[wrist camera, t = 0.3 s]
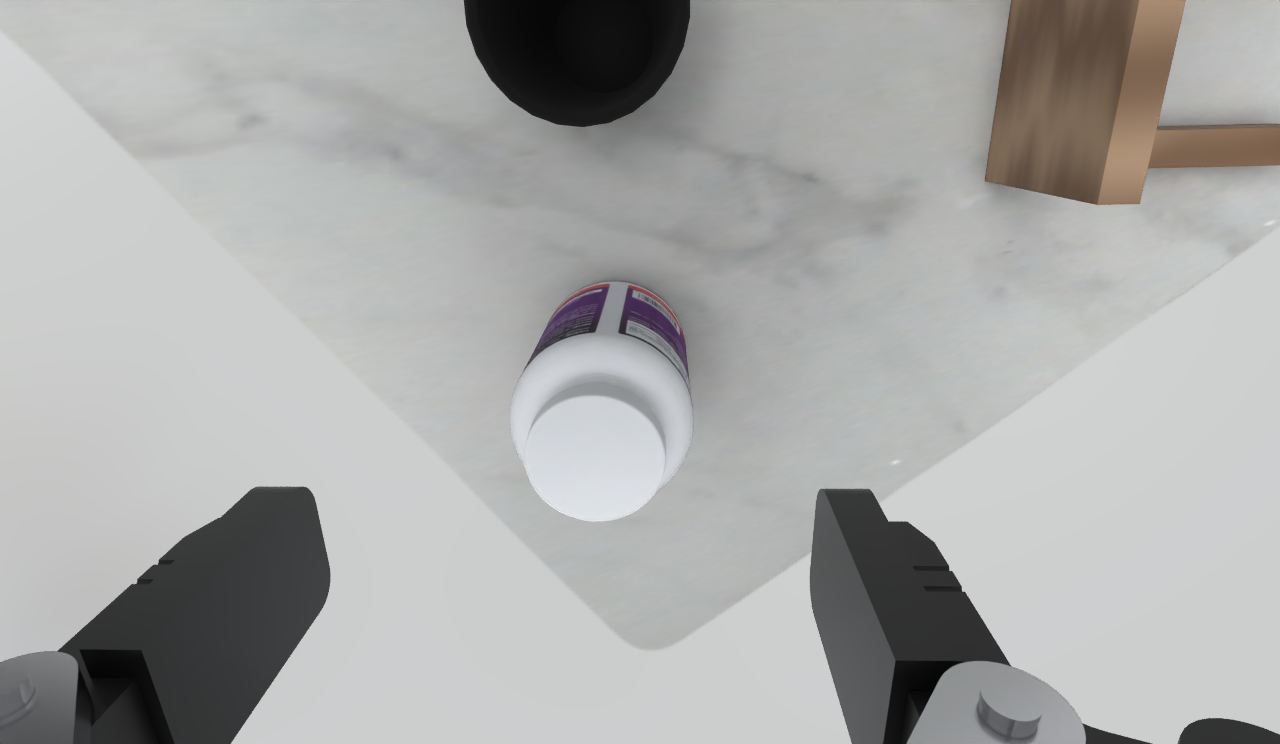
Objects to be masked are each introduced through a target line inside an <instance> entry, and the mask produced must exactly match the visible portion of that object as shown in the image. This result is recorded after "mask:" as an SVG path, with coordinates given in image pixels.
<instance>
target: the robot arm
mask: <svg viewBox="0 0 1280 744" xmlns="http://www.w3.org/2000/svg"><path fill="white" fill-rule="evenodd" d="M329 587H330V567H329V562H328V557H327V552H326V548H325V544H324V538H323V534H322V530H321V525H320V520H319V516H318V511H317V506H316V502H315V498H314V496H313V494H312V492H311V491H310V490H309V489H308V488H306V487H255V488H253V489H251V490H250V491H249V492H248V493H247V494H246V495H245V496H243V498H241V499H240V500H239V501H238V502H237V503H236V504H235V505H234V506H233V507H232V508H231V509H229V510H228V511H227V512H226V513H225V514H224V515H223V516H222V517H221V518H218V519H216V520H214V521H212V522H210V523H209V524H207V525H205V526H203V527H202V528H200V529H198V530H196V531H194V532H193V533H191V534H189V535H187V536H186V537H184V538H183V539H182V540H181V541H179V542H178V543H177V544H176V545H175V546H174V547H173V548H172V549H170V550H169V551H168V552H167V553H166V554H165V555H164V556H163V557H162V558H160V559H159V563H158V565H153V566H152V567H150V568H149V569H148V570H147V571H146V572H145V573H144V574H143V575H142V576H140V577H139V578H138V580H137V584H132V585H130V586H129V587H128V588H127V589H126V590H125V591H124V592H123V593H121V594H120V595H119V596H118V597H117V598H116V599H115V600H114V601H113V602H111V604H109V605H108V606H107V607H106V608H105V609H104V610H103V611H101V612H100V613H99V614H98V615H97V616H96V617H95V618H94V619H93V620H91V621H90V622H89V623H88V624H87V625H86V626H85V627H84V628H83V629H81V630H80V631H79V632H78V633H77V634H76V635H75V636H74V637H73V638H71V639H70V640H69V641H68V642H67V643H66V644H65V645H64V646H63V647H62V648H60V649H59V650H58V651H57V652H56V651H44V652H37V653H31V654H27V655H22V656H18V657H15V658H11V659H8V660H5V661H3V662H0V744H231V742H232V741H233V739H234V737H235V736H236V735H237V733H238V732H239V730H240V729H241V728H242V726H243V725H244V723H245V721H246V720H247V719H248V717H249V716H250V714H251V713H252V711H253V710H254V708H255V707H256V705H257V704H258V703H259V701H260V700H261V698H262V697H263V695H264V694H265V692H266V691H267V689H268V688H269V686H270V685H271V683H272V682H273V680H274V679H275V677H276V676H277V675H278V673H279V671H280V670H281V669H282V667H283V666H284V664H285V663H286V661H287V660H288V658H289V657H290V655H291V654H292V652H293V651H294V649H295V648H296V647H297V645H298V644H299V642H300V641H301V639H302V638H303V636H304V635H305V633H306V632H307V630H308V629H309V627H310V626H311V624H312V623H313V621H314V620H315V619H316V617H317V616H318V614H319V613H320V611H321V610H322V608H323V606H324V604H325V602H326V598H327V596H328V592H329ZM810 593H811V601H812V608H813V613H814V617H815V620H816V623H817V627H818V630H819V634H820V637H821V641H822V644H823V647H824V651H825V654H826V657H827V660H828V664H829V668H830V671H831V674H832V677H833V681H834V684H835V688H836V691H837V695H838V698H839V701H840V705H841V708H842V711H843V715H844V718H845V721H846V725H847V728H848V732H849V735H850V738H851V742H852V744H1151V743H1147V742H1143V741H1140V740H1136V739H1132V738H1128V737H1124V736H1121V735H1117V734H1112V733H1108V732H1105V731H1102V730H1099V729H1096V728H1093V727H1090V726H1087V725H1085V724H1083V723H1082V722H1081V719H1080V717H1079V716H1078V714H1077V713H1076V711H1075V710H1074V708H1073V707H1072V706H1071V705H1070V704H1069V702H1068V701H1067V700H1066V699H1065V698H1064V697H1063V696H1062V695H1061V694H1059V693H1058V692H1057V691H1056V690H1055V689H1053V688H1052V687H1051V686H1049V685H1048V684H1047V683H1045V682H1043V681H1042V680H1040V679H1038V678H1037V677H1035V676H1033V675H1031V674H1029V673H1027V672H1025V671H1023V670H1020V669H1017V668H1014V667H1012V666H1011V665H1010V664H1009V662H1008V661H1007V659H1006V657H1005V655H1004V654H1003V652H1002V651H1001V649H1000V647H999V646H998V644H997V643H996V641H995V639H994V638H993V636H992V635H991V633H990V631H989V630H988V628H987V627H986V625H985V623H984V622H983V620H982V618H981V617H980V615H979V614H978V612H977V610H976V609H975V607H974V606H973V604H972V603H971V601H970V599H969V598H968V596H967V594H966V593H965V592H962V586H961V585H960V583H959V582H958V580H957V578H956V577H955V575H954V573H953V572H952V571H949V565H948V564H947V562H946V561H945V559H944V557H943V556H942V554H941V552H940V551H939V549H938V548H937V546H936V544H935V543H934V542H933V541H932V540H930V539H929V538H928V537H927V536H925V535H924V534H923V533H922V532H920V531H919V530H917V529H916V528H915V527H914V526H912V525H911V524H909V523H908V522H888V520H887V518H886V516H885V515H884V513H883V511H882V509H881V507H880V505H879V503H878V502H877V500H876V498H875V496H874V494H873V493H872V491H871V490H870V489H820V490H819V492H818V495H817V500H816V510H815V521H814V533H813V544H812V556H811V567H810ZM1178 744H1280V735H1279V734H1277V733H1274V732H1272V731H1269V730H1267V729H1264V728H1261V727H1258V726H1255V725H1252V724H1249V723H1245V722H1241V721H1236V720H1230V719H1222V718H1212V719H1211V718H1208V719H1202V720H1198V721H1195V722H1193V723H1191V724H1189V725H1188V726H1187V727H1186V728H1184V730H1183V732H1182V734H1181V735H1180V738H1179V741H1178Z"/></svg>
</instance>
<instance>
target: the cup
mask: <svg viewBox="0 0 1280 744" xmlns="http://www.w3.org/2000/svg"><path fill="white" fill-rule="evenodd" d="M464 6H465V16H466V25H467V28H468V32H469V35H470V38H471V41H472V44H473V47H474V50H475V53H476V55H477V57H478V59H479V60H480V62H481V64H482V65H483V67H484V69H485V71H486V72H487V74H488V76H489V77H490V79H491V80H492V81H493V82H494V84H495V85H496V86H497V87H498V88H499V89H500V90H501V91H502V92H503V93H504V94H505V95H506V96H507V97H508V99H509V100H510V101H512V102H513V103H515V104H516V105H518V106H519V107H521V108H522V109H524V110H525V111H527V112H528V113H530V114H531V115H533V116H536V117H539V118H541V119H544V120H547V121H549V122H552V123H555V124H558V125H569V126H579V127H586V126H592V125H598V124H605V123H610V122H612V121H614V120H616V119H619V118H621V117H623V116H625V115H628V114H630V113H632V112H634V111H635V110H636V109H638V108H639V107H640V106H641V105H643V104H644V103H645V102H646V101H648V100H649V99H650V98H651V97H653V96H654V95H655V94H656V92H657V91H658V90H659V88H660V87H661V86H662V85H663V83H664V82H665V81H666V79H667V78H668V77H669V76H670V74H671V73H672V71H673V69H674V66H675V64H676V62H677V60H678V58H679V56H680V53H681V51H682V49H683V47H684V42H685V38H686V33H687V29H688V24H689V19H690V0H464Z"/></svg>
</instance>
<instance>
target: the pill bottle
mask: <svg viewBox="0 0 1280 744" xmlns="http://www.w3.org/2000/svg"><path fill="white" fill-rule="evenodd" d="M693 426H694V419H693V406H692V399H691V391H690V383H689V374H688V365H687V356H686V345H685V340H684V335H683V332H682V329H681V326H680V323H679V321H678V319H677V317H676V316H675V314H674V313H673V311H672V310H671V309H670V307H669V306H668V305H667V304H666V303H665V302H664V301H663V300H662V299H661V298H660V297H658V296H657V295H655V294H654V293H652V292H651V291H649V290H647V289H645V288H643V287H641V286H638V285H635V284H631V283H626V282H616V281H610V282H601V283H596V284H592V285H590V286H587V287H584V288H582V289H580V290H578V291H577V292H575V293H573V294H572V295H571V296H569V297H568V298H567V299H566V300H565V301H564V302H563V303H562V304H561V305H560V306H559V307H558V308H557V310H556V311H555V313H554V314H553V316H552V317H551V319H550V321H549V323H548V325H547V327H546V329H545V331H544V333H543V335H542V337H541V339H540V341H539V343H538V345H537V347H536V348H535V350H534V352H533V354H532V356H531V358H530V360H529V362H528V364H527V365H526V367H525V369H524V371H523V373H522V375H521V377H520V379H519V381H518V383H517V385H516V387H515V390H514V393H513V396H512V400H511V405H510V429H511V434H512V438H513V442H514V445H515V448H516V451H517V453H518V455H519V457H520V459H521V461H522V463H523V464H524V465H525V468H526V472H527V475H528V478H529V480H530V482H531V484H532V486H533V488H534V489H535V491H536V492H537V493H538V495H539V496H540V497H541V498H542V499H543V500H544V501H545V502H546V503H547V504H548V505H550V506H551V507H553V508H554V509H555V510H557V511H559V512H561V513H563V514H565V515H567V516H570V517H572V518H575V519H580V520H584V521H593V522H596V521H610V520H615V519H618V518H621V517H625V516H627V515H629V514H631V513H633V512H635V511H637V510H638V509H640V508H641V507H642V506H644V505H645V504H646V503H647V502H648V501H649V500H650V499H651V498H652V497H653V495H654V494H655V493H656V491H657V490H658V489H659V488H661V487H662V486H663V485H664V484H666V483H667V482H668V481H669V480H670V479H671V478H672V477H673V475H674V474H675V473H676V472H677V470H678V469H679V468H680V466H681V464H682V463H683V461H684V459H685V457H686V455H687V453H688V450H689V448H690V444H691V440H692V436H693Z"/></svg>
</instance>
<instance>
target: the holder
mask: <svg viewBox="0 0 1280 744" xmlns="http://www.w3.org/2000/svg"><path fill="white" fill-rule="evenodd" d="M1185 2H1186V0H1012V1H1011V8H1010V15H1009V21H1008V28H1007V35H1006V42H1005V48H1004V55H1003V62H1002V69H1001V75H1000V82H999V89H998V96H997V103H996V109H995V116H994V123H993V130H992V136H991V143H990V150H989V157H988V164H987V170H986V177H985V181H987V182H992V183H997V184H1002V185H1006V186H1011V187H1016V188H1020V189H1025V190H1030V191H1035V192H1039V193H1044V194H1049V195H1054V196H1058V197H1063V198H1068V199H1072V200H1077V201H1082V202H1087V203H1091V204H1096V205H1112V204H1140V200H1141V196H1142V191H1143V187H1144V182H1145V178H1146V174H1147V169H1148V168H1178V167H1223V166H1268V165H1280V124H1239V125H1198V126H1157V125H1158V121H1159V116H1160V112H1161V107H1162V103H1163V99H1164V94H1165V90H1166V85H1167V81H1168V77H1169V72H1170V68H1171V63H1172V59H1173V55H1174V50H1175V46H1176V41H1177V37H1178V33H1179V28H1180V24H1181V19H1182V15H1183V10H1184V6H1185Z"/></svg>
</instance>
